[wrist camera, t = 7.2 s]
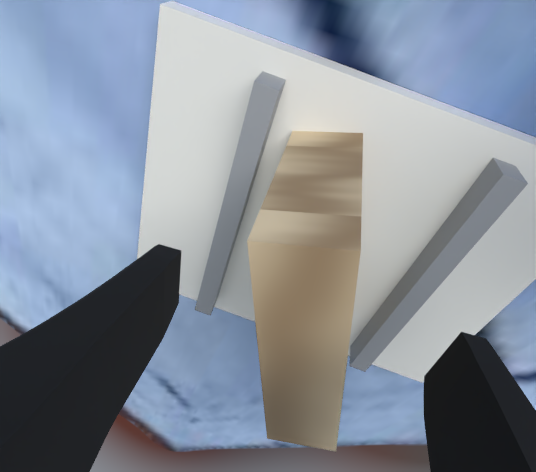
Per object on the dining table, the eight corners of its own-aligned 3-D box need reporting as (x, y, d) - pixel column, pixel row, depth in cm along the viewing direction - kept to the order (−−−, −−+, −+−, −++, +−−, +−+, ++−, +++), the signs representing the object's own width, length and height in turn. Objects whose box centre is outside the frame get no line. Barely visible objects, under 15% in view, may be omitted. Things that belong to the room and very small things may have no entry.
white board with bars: (623, 170, 16) (662, 204, 14) (420, 367, 26) (425, 404, 24) (172, 0, 15) (142, 8, 13) (143, 266, 25) (123, 294, 23)
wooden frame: (363, 132, 16) (360, 250, 10) (344, 312, 22) (335, 451, 16) (292, 130, 16) (247, 241, 10) (294, 305, 23) (267, 438, 17)
